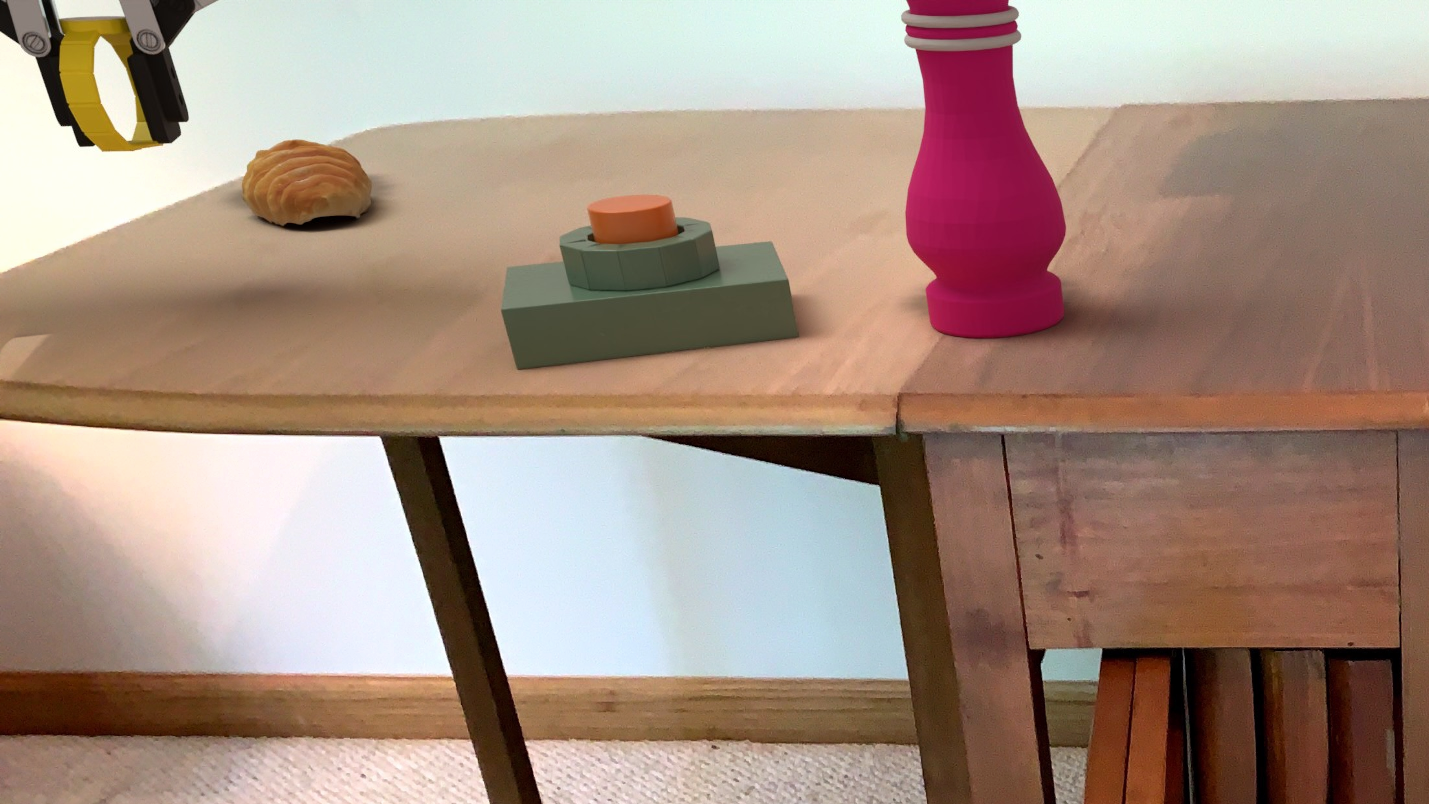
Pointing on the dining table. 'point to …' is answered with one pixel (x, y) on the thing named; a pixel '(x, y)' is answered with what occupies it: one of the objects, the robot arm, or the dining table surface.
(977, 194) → the pepper mill
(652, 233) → the button
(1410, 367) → the dining table surface
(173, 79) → the robot arm
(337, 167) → the pastry
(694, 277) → the control box
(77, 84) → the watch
